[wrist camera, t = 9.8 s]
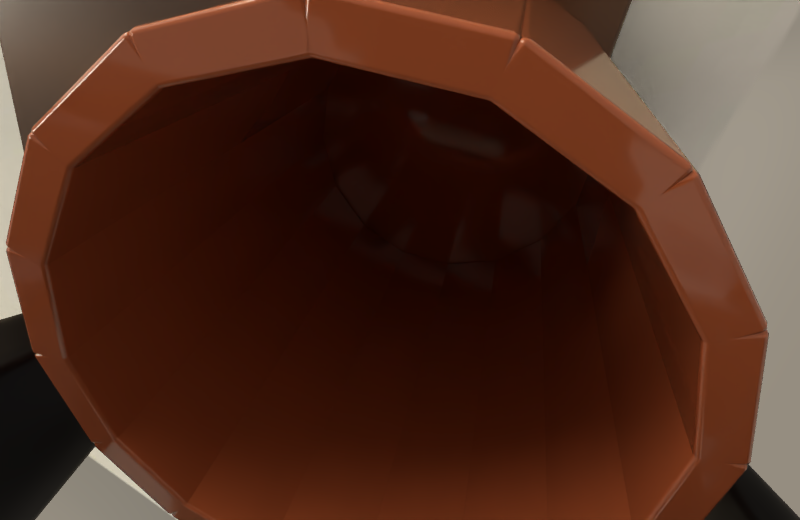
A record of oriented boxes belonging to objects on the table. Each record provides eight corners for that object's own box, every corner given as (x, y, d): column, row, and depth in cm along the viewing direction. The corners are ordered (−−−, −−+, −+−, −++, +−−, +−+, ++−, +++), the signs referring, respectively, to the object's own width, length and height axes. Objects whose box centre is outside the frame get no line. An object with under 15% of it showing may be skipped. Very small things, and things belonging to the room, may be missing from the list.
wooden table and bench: (499, 257, 22) (484, 393, 15) (124, 156, 23) (-44, 238, 16) (643, -173, 14) (743, -295, 7) (78, -278, 16) (-264, -456, 9)
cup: (670, 11, 9) (1027, 149, 3) (552, 295, 13) (573, 676, 6) (332, -62, 10) (-91, -107, 3) (304, 227, 13) (69, 504, 7)
